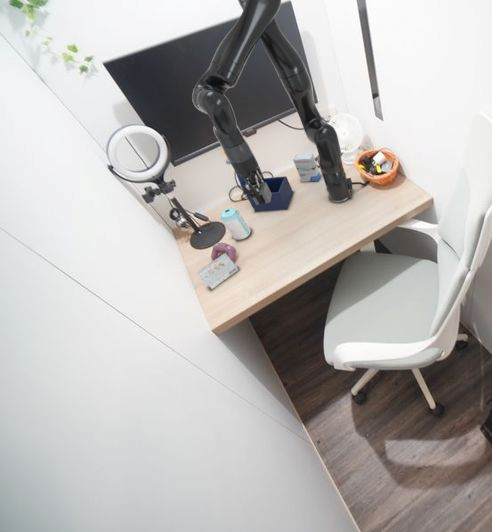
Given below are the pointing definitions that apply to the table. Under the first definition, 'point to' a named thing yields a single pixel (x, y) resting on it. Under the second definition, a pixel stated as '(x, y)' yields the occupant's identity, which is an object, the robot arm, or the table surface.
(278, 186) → the chest
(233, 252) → the video game controller
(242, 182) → the lid
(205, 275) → the ink box
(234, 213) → the can
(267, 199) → the dice cube
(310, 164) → the ink box
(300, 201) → the table surface
